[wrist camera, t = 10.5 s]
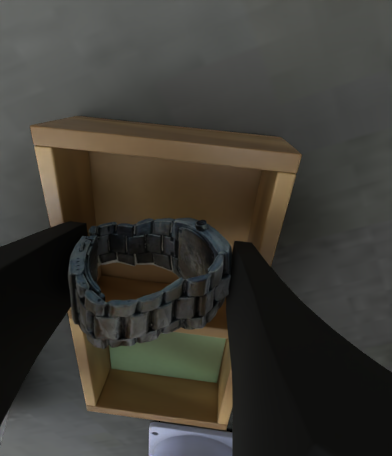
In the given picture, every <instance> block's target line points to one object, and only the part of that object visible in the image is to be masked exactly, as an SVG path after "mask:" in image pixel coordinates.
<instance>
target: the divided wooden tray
mask: <svg viewBox="0 0 392 456" xmlns="http://www.w3.org/2000/svg"><path fill="white" fill-rule="evenodd" d="M30 129H31V134H32V139H33V144H34V145H36V146H35V147H34V148H35V153H36V158H37V163H38V168H39V173H40V178H41V183H42V188H43V193H44V198H45V203H46V208H47V213H48V218H49V223H50V228H51V227H53V226H56V225H59V224H62V223H65V222H69V221H73V222H81V223H86V224H87V232H88V231H89V229H90V227H91V226H98V225H101V224H104V223H109V222H116V223H117V225H118V224H120V223H128V224H132V225H133V224H136V223H137V222H139V221H141V220H144V219H148V218H152V219H154V220H156V219H162V218H172V219H177V218H193V219H197V220H206V222H207V224H209V225H210V226H212V227H213V228H215V229H216V230H217V231H218V232H219V233H220V234H221V235H222V236H223V237H224V238H225V239H226V240H227V241H228V242H229V243H230V245H231V248H232V251H233V246H234V240H235V241H243V242H252V244H253V245H254V246H255V247H256V249H257V250H258V251H259V253H260V254H261V255H262V257H263V258H264V259H265V260H266V262H267V263H268V264H269V266H270V267H271V265H272V261H273V258H274V254H275V250H276V247H277V243H278V240H279V236H280V232H281V229H282V225H283V221H284V218H285V214H286V210H287V207H288V203H289V200H290V196H291V192H292V189H293V185H294V181H295V178H296V174H295V173H297V171H298V168H299V164H300V160H301V157H302V154H301V153H299V152H298V151H297V150H296V149H295V148H294V147H292V146H291V145H290V144H289V143H288V142H286V141H285V140H284V139H283V138H281V137H276V136H266V135H256V134H247V133H237V132H228V131H218V130H208V129H199V128H189V127H180V126H170V125H160V124H151V123H141V122H132V121H122V120H112V119H103V118H93V117H84V116H74V117H69V118H64V119H59V120H54V121H49V122H44V123H40V124H35V125H31V126H30ZM88 236H90V235H89V233H88ZM178 279H179V277H178V276H177V275H176V274H174V273H173V272H171V271H169V270H166V269H164V268H161V267H157V266H155V265H138V264H137V265H136V266H130V265H127V264H122V263H110V264H106V265H100V266H99V267H98V277H97V285H98V286H99V287H100V289H101V292H102V293H104V295H105V302H106V303H107V302H109V301H111V300H130V299H132V300H136V299H138V298H140V297H143V296H146V295H149V294H152V293H155V292H158V291H161V290H163V289H164V288H165V287H167V286H168V285H170V284H171V283H173V282H174V281H176V280H178ZM68 317H69V322H70V327H71V332H72V337H73V342H74V347H75V352H76V357H77V362H78V367H79V372H80V377H81V382H82V387H83V392H84V397H85V402H86V407H87V411H93V412H100V413H107V414H114V415H121V416H128V417H135V418H142V419H149V420H157V421H164V422H171V423H178V424H185V425H192V426H199V427H206V428H213V429H220V430H226V429H227V425H228V421H229V418H230V414H231V410H232V370H231V360H230V349H229V339H228V329H227V318H226V297H225V300H224V303H223V305H222V307H221V308H219V309H218V311H217V313H216V316H215V317H214V318H213V319H212V320H211V321H210V322H209V323H207V324H206V325H205V326H204V328H201V329H193V330H188V329H184V328H182V327H180V328H179V329H177V330H175V331H173V332H171V333H168V334H162V333H161V334H160V335H159V337H158V338H157V339H155V340H153V341H150V342H144V343H138V342H136V343H135V345H133V346H119V347H115V348H111V347H110V345H107V347H106V348H105V349H101V348H97V347H94V346H93V345H92V344H91V343H90V342H89V341H88V340H87V335H86V334H85V333H84V332H83V331H82V330H81V329H80V327H79V325H77V324H74V322H73V319H72V314H71V307H70V309H69V310H68Z"/></svg>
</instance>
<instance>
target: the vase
mask: <svg viewBox="0 0 392 456" xmlns="http://www.w3.org/2000/svg"><path fill="white" fill-rule="evenodd" d="M8 413H9V410H8V412H7V414H6V416H5V418H4V420H3V422H2V424H1V426H0V445H1V442H2V438H3V434H4V431H5V427H6V423H7V418H8Z"/></svg>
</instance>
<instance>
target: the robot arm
mask: <svg viewBox="0 0 392 456" xmlns="http://www.w3.org/2000/svg"><path fill="white" fill-rule="evenodd" d="M82 236H88V232H87V224H86V223H81V222H73V221H69V222H65V223H62V224H59V225H56V226H53V227H51V228H48V229H45V230H43V231H40V232H38V233H35V234H33V235H30V236H28V237H25V238H23V239H20V240H17V241H15V242H12V243H10V244H7V245H4V246H1V247H0V426H1V424H2V422H3V420H4V418H5V416H6V414H7V412H8V410H9V408H10V406H11V404H12V402H13V401H14V399H15V397H16V395H17V393H18V391H19V389H20V387H21V385H22V383H23V382H24V380H25V378H26V376H27V374H28V373H29V371H30V369H31V367H32V365H33V363H34V362H35V360H36V358H37V356H38V355H39V353H40V352H41V350H42V348H43V347H44V345H45V344H46V342H47V341H48V339H49V338H50V337H51V335H52V334H53V332H54V331H55V329H56V328H57V326H58V325H59V323H60V322H61V320H62V319H63V318H64V316H65V315H66V313H67V312H68V310H69V309H70V307H71V298H70V289H69V282H68V269H69V260H70V255H71V253H72V251H73V249H74V247H75V245H76V244H77V242H78V241H79V240H80V239H81V237H82ZM226 318H227V329H228V339H229V349H230V360H231V370H232V413H233V424H232V432H226V431H218V430H211V429H204V428H197V427H190V426H183V425H176V424H169V423H162V422H152V423H150V426H149V456H392V373H391V372H390V371H389V370H387V369H386V368H384V367H383V366H381V365H380V364H378V363H377V362H376V361H374V360H373V359H371V358H370V357H369V356H367V355H366V354H364V353H363V352H362V351H360V350H359V349H358V348H356V347H355V346H354V345H353V344H351V343H350V342H349V341H347V340H346V339H345V338H344V337H342V336H341V335H340V334H338V333H337V332H336V331H335V330H333V329H332V328H331V327H330V326H329V325H327V324H326V323H325V322H324V321H323V320H322V319H321V318H320V317H318V316H317V315H316V314H315V313H314V312H313V311H312V310H311V309H309V308H308V307H307V306H306V305H305V304H304V303H303V302H302V301H301V300H300V299H299V298H298V297H297V296H296V295H295V294H294V293H293V292H292V291H291V290H290V289H289V287H288V286H287V285H286V284H285V283H284V282H283V281H282V280H281V279H280V278H279V276H278V275H277V274H276V273H275V272H274V270H273V269H272V268H271V267H270V266H269V264H268V263H267V262H266V260H265V259H264V258H263V257H262V255H261V254H260V253H259V251H258V250H257V249H256V247H255V246H254V245H253V244H252V242H243V241H235V240H234V246H233V251H232V266H231V279H230V284H229V295H227V296H226Z"/></svg>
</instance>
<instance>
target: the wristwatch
mask: <svg viewBox="0 0 392 456" xmlns="http://www.w3.org/2000/svg"><path fill="white" fill-rule="evenodd" d="M88 233H89V235H90V236H82V237H81V239H80V240H79V241H78V242H77V244H76V245H75V247H74V249H73V251H72V253H71V255H70V260H69V269H68V282H69V289H70V298H71V314H72V319H73V322H74V324H77V325H79V327H80V329H81V330H82V331H83V332H84V333H85V334H86V335H87V340H88V341H89V342H90V343H91V344H92V345H93V346H94V347H97V348H101V349H105V348H106V347H107V345H110V347H111V348H115V347H119V346H133V345H135V343H136V342H138V343H144V342H150V341H153V340H155V339H157V338H158V337H159V335H160V334H161V333H162V334H168V333H171V332H173V331H175V330H177V329H179V328H180V327H182V328H184V329H188V330H193V329H201V328H204V326H205V325H206V324H207V323H209V322H210V321H211V320H212V319H213V318H214V317H215V316H216V313H217V311H218V309H219V308H221V307H222V305H223V303H224V300H225V297H226V296H227V295H229V284H230V279H231V266H232V248H231V245H230V243H229V242H228V241H227V240H226V239H225V238H224V237H223V236H222V235H221V234H220V233H219V232H218V231H217V230H216V229H215V228H213V227H212V226H210V225H209V224H207V222H206V220H197V219H193V218H177V219H172V218H162V219H156V220H154V219H152V218H148V219H144V220H141V221H139V222H137V223H136V224H133V225H132V224H128V223H120V224H118V225H117V223H116V222H109V223H104V224H101V225H98V226H91V227H90V229H89V231H88ZM110 263H122V264H127V265H130V266H136V265H137V264H138V265H155V266H157V267H161V268H164V269H166V270H169V271H171V272H173V273H174V274H176V275H177V276H178V277H179V279H178V280H176V281H174V282H173V283H171V284H170V285H168V286H167V287H165V288H164V289H163V290H161V291H158V292H155V293H152V294H149V295H146V296H143V297H140V298H138V299H136V300H132V299H130V300H111V301H109V302H107V303H106V302H105V295H104V293H102V292H101V289H100V287H99V286H98V285H97V277H98V267H99V266H100V265H106V264H110Z"/></svg>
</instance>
